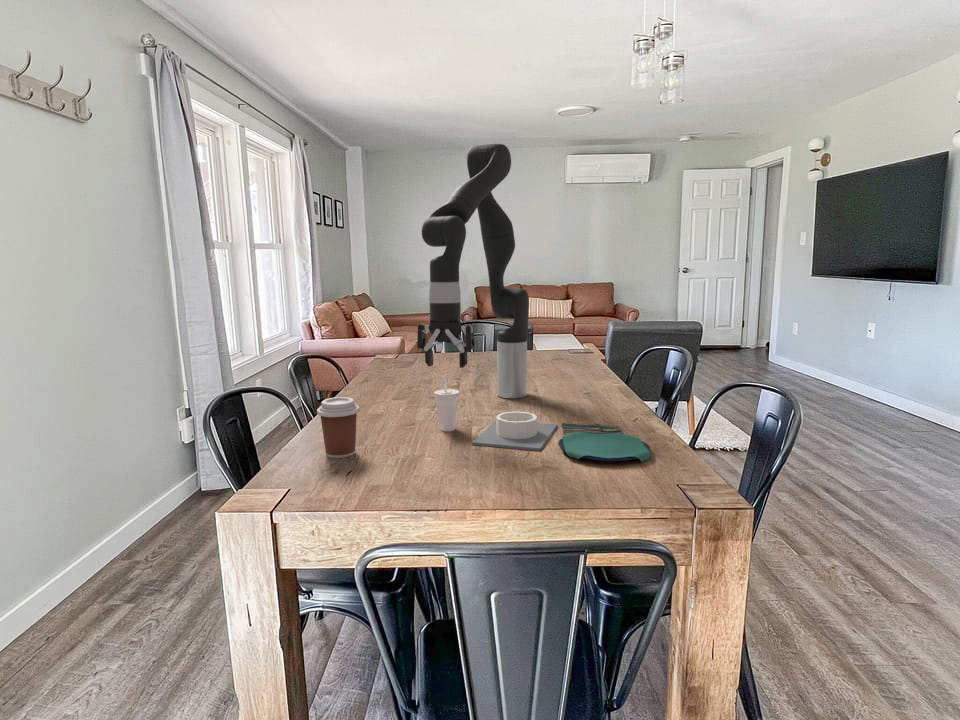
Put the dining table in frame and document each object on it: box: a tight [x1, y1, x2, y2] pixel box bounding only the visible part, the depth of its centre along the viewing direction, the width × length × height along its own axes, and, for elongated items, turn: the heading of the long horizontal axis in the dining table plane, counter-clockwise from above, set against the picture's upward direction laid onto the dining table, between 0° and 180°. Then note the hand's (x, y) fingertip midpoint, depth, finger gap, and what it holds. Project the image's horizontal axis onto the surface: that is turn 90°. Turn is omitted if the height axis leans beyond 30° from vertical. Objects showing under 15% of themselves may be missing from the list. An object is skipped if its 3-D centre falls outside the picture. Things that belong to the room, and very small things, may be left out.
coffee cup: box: [316, 396, 360, 459], centre depth 128 cm, size 9×9×12 cm
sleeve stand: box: [471, 411, 558, 452], centre depth 140 cm, size 20×16×5 cm
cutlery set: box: [558, 422, 651, 464], centre depth 133 cm, size 20×30×2 cm, turn 176°
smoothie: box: [433, 374, 460, 432], centre depth 145 cm, size 6×6×14 cm
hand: (446, 366), depth 143 cm, fingers open, 8 cm apart
